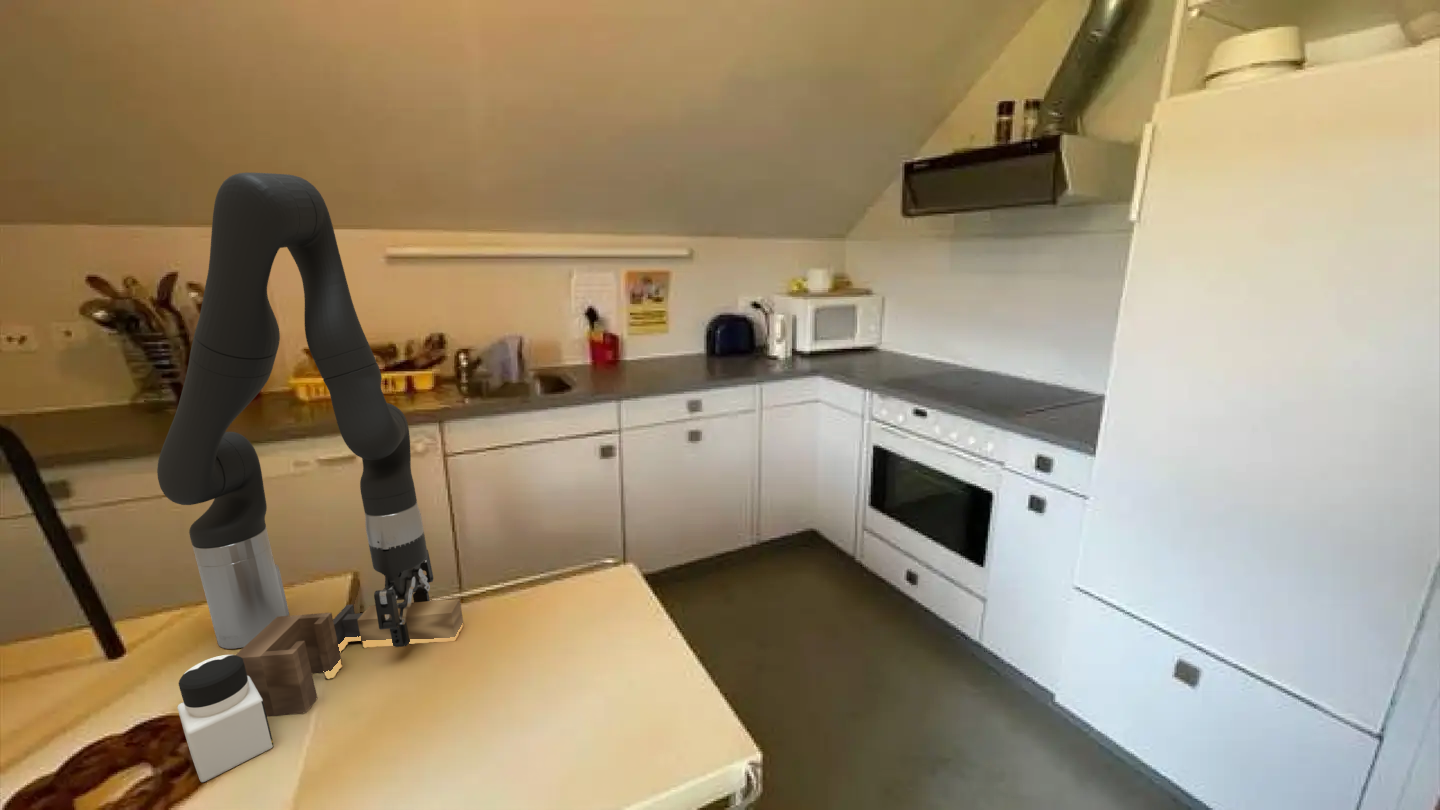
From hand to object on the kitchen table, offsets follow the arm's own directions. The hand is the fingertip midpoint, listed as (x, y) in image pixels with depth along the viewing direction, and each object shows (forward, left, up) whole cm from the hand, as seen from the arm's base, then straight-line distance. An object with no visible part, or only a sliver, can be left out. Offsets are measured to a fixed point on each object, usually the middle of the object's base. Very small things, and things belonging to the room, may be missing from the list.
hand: (413, 628), depth 96 cm
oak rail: (0, -2, -2) cm, 3 cm away
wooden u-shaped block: (+11, -12, -2) cm, 16 cm away
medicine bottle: (+21, -14, -2) cm, 25 cm away
